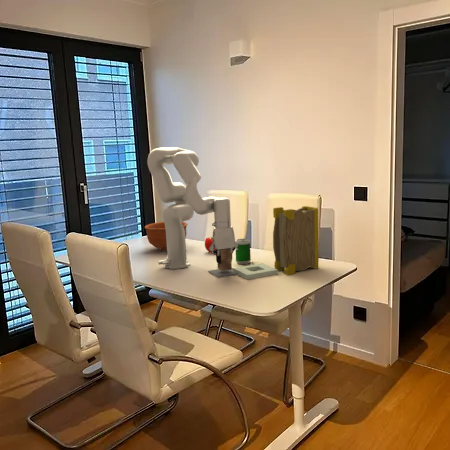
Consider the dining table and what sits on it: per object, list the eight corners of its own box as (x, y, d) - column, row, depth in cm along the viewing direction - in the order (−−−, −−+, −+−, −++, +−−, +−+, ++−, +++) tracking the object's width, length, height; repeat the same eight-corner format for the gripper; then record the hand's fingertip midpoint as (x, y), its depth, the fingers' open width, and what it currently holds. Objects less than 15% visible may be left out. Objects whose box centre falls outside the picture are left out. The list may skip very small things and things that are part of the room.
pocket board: (247, 279, 212) (247, 275, 212) (233, 272, 225) (233, 268, 225) (277, 273, 219) (277, 269, 219) (262, 267, 232) (262, 263, 231)
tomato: (206, 255, 261) (206, 240, 259) (203, 251, 271) (202, 236, 270) (225, 253, 263) (224, 238, 262) (221, 249, 274) (220, 234, 272)
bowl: (179, 255, 264) (177, 228, 262) (138, 253, 271) (136, 228, 269) (194, 245, 288) (193, 221, 285) (156, 244, 295) (155, 220, 292)
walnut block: (222, 271, 221) (221, 250, 219) (217, 268, 225) (216, 248, 223) (231, 269, 223) (230, 248, 221) (227, 267, 227) (226, 246, 225)
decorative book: (307, 264, 234) (306, 203, 228) (320, 269, 224) (320, 206, 218) (272, 270, 225) (270, 208, 220) (285, 275, 215) (283, 210, 210)
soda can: (252, 261, 243) (252, 238, 241) (247, 265, 237) (246, 241, 235) (239, 260, 246) (238, 238, 244) (233, 264, 240) (232, 241, 238)
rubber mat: (218, 278, 216) (218, 276, 216) (208, 272, 227) (208, 270, 227) (242, 273, 221) (241, 272, 221) (230, 268, 232) (230, 267, 232)
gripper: (209, 227, 213) (211, 266, 217) (242, 223, 220) (244, 261, 224) (202, 225, 220) (204, 263, 223) (235, 221, 227) (236, 258, 230)
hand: (224, 261), depth 223 cm, fingers closed on walnut block, 5 cm apart
